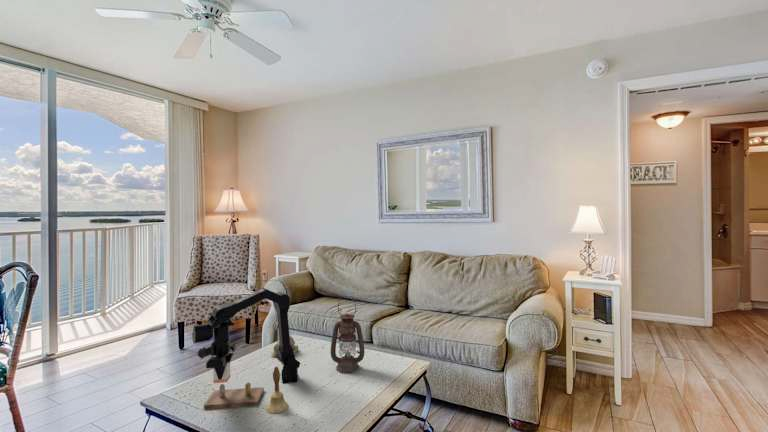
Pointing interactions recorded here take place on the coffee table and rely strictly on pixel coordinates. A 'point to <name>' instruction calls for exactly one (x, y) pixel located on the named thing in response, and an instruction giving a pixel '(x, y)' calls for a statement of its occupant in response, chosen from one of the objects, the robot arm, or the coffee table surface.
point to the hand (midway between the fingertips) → (222, 376)
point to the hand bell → (276, 396)
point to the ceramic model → (294, 347)
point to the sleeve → (225, 375)
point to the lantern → (347, 343)
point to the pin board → (234, 397)
